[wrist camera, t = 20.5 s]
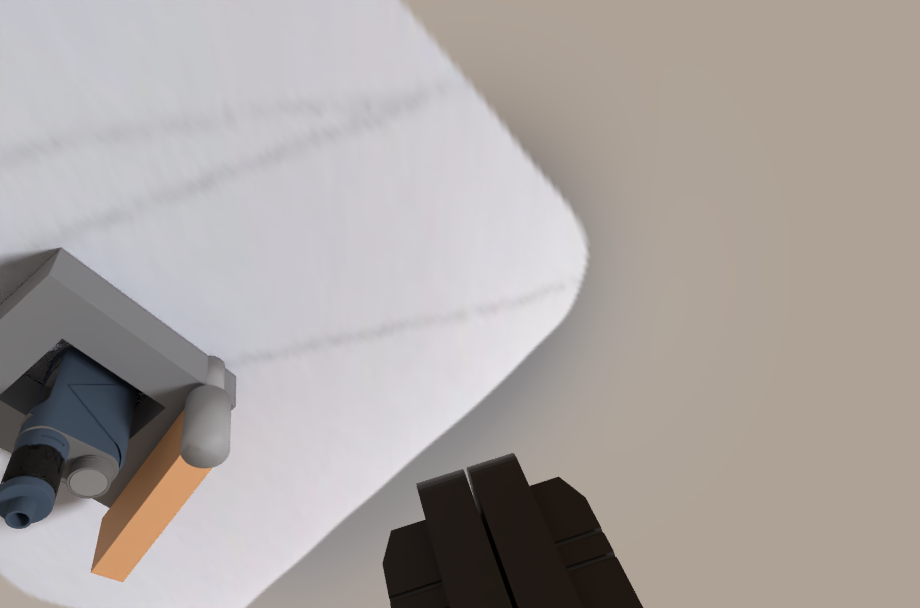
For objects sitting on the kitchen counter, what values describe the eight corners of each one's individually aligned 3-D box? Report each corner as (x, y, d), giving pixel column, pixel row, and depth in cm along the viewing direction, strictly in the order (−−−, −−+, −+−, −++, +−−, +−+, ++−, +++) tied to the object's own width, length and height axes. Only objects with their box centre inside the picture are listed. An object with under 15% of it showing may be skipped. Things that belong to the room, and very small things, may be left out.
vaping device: (63, 337, 43) (7, 488, 33) (147, 383, 45) (120, 536, 35) (36, 369, 43) (-28, 527, 33) (121, 412, 46) (86, 571, 36)
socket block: (-66, 366, 42) (-87, 401, 39) (65, 243, 40) (52, 272, 37) (119, 475, 48) (112, 512, 45) (239, 373, 46) (239, 405, 44)
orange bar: (200, 378, 42) (196, 424, 39) (239, 396, 43) (238, 442, 40) (97, 516, 45) (85, 570, 42) (136, 530, 46) (128, 583, 43)
